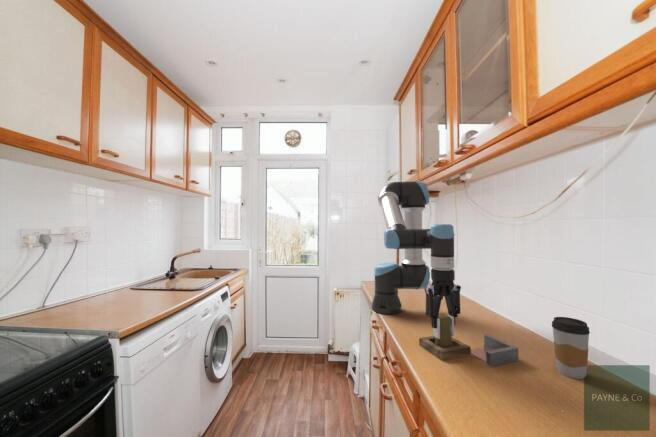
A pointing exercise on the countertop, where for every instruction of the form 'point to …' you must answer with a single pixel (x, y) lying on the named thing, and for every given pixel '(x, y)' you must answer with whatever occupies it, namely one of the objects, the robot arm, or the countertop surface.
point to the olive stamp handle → (444, 332)
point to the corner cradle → (496, 352)
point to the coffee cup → (571, 346)
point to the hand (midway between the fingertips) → (443, 335)
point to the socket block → (445, 353)
